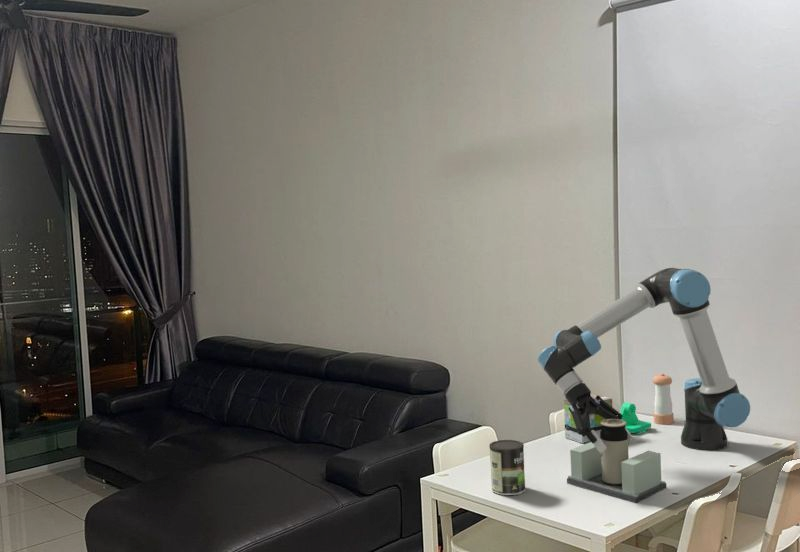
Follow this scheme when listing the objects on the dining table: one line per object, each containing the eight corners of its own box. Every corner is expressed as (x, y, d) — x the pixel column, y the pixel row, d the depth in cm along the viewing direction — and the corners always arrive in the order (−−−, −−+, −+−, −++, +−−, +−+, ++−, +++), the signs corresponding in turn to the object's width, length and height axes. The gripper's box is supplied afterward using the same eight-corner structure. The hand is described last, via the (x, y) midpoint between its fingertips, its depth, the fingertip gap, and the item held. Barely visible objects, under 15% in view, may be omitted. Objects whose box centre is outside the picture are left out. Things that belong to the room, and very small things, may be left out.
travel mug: (632, 478, 223) (630, 419, 222) (625, 486, 217) (622, 426, 215) (606, 474, 227) (604, 417, 226) (598, 482, 221) (596, 424, 220)
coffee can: (530, 486, 225) (528, 441, 224) (517, 498, 216) (515, 451, 215) (500, 482, 231) (497, 438, 230) (485, 493, 222) (483, 447, 221)
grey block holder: (571, 478, 226) (570, 449, 225) (598, 467, 235) (597, 439, 234) (634, 496, 209) (633, 465, 208) (661, 483, 218) (660, 453, 217)
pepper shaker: (671, 425, 282) (670, 375, 281) (652, 423, 286) (650, 374, 284) (675, 420, 288) (673, 372, 287) (656, 418, 292) (654, 371, 291)
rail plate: (567, 483, 226) (566, 476, 226) (598, 470, 236) (597, 463, 236) (636, 503, 208) (635, 495, 207) (666, 488, 218) (666, 481, 218)
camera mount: (632, 436, 271) (631, 408, 271) (615, 432, 278) (614, 405, 277) (652, 429, 278) (651, 402, 278) (635, 425, 284) (634, 399, 284)
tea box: (582, 444, 264) (581, 403, 263) (564, 438, 273) (562, 398, 272) (614, 436, 271) (612, 397, 270) (595, 431, 280) (593, 392, 279)
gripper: (591, 389, 241) (633, 442, 230) (542, 404, 225) (584, 462, 214) (604, 375, 236) (647, 429, 226) (555, 389, 221) (599, 448, 210)
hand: (617, 445), depth 220 cm, fingers open, 13 cm apart
